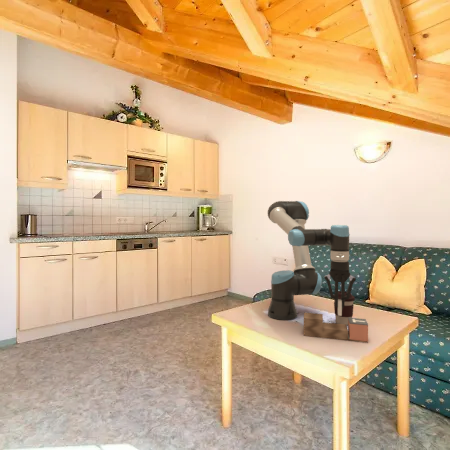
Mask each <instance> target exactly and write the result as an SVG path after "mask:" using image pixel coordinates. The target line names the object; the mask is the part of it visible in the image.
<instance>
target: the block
mask: <svg viewBox="0 0 450 450" xmlns="http://www.w3.org/2000/svg"><path fill="white" fill-rule="evenodd" d="M347 329H348V335H349V339H351V340H360V341H368V342H369V323H368V322H367V320H366V318H359V317H358V318H357V317H352V318H348V325H347Z"/></svg>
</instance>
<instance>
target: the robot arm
mask: <svg viewBox="0 0 450 450" xmlns="http://www.w3.org/2000/svg"><path fill="white" fill-rule="evenodd" d="M267 216H268V219H269V221H270V222H272V223H273V224H276V225H277V226H278V227H279V228H280V229H282V231H283V232H284V233H286V234H287V239H288V243H289V244H290V246H291V247H292V252H293V253H292V254H293V259H294V264H295V265H294V266H295V268H294V269H293V270H288V269H287V270H278V271H275V272H273V273H272V274H271V280H270V283H271V285H270V287H271V292H270V293H271V294H270V295H271V301H270V304H269V307H268V311H267V314H268V315H267V316H268V317H270V318H272V319H273V320H274V319H275V320H279V321H280V320H283V321H289V320H290V321H291V320H295V319H297V318H298V310H297V307H296V304H295V299H294V296H305V295H306V296H307V295H309V296H311V295H316V294H318V293H319V292H320V290H321V289H322V286H323V285H322V283H323V279H322V275H321V274H320V272H317V271H316V267H314V266H313V265H312V260H311V256H310V250H309V249H310V248H309V247H310V246H311V247H312V246H329V247H330V271H329V273H328V274H327V275H324V279H325V281H326V283H327V287H328V292H329V295H330V298H331V299H333V300H334V299H335V307H338V316H342V308H344V307H345V300H347V299H349V297H350V293H351V294H352V289H353V285H354V283H355V282H356V277H355V276H353V275H351V273H350V261H349V260H350V235H351V234H350V227H349V226H348V225H347V224H346V225H345V224H342V225H341V224H336V225H335V224H334V225H333V224H332V225H331V226H330V229H329V228H321V229H320V228H316V229H315V228H309V229H308V228H307V229H306V228H305V225H306V224H307V221H308V219H309V217H310V210H309V206H308V205H307V204H306V203H305V202H303V201H299V200H294V201H293V200H291V201H290V200H289V201H288V200H285V201H284V200H278V201H275V202H273V203H272V204H271V205H270V206H269V207H268V209H267ZM331 278H332V280H333V282H334V293H333V288H332V285H331V281H330V280H331ZM348 279H349V281H348V286H347V289H346V290H345V287H346V286H345V285H346V282H347V280H348ZM339 283H340V285H341V286H340V289H341V290H340V291H341V299H338V291H339ZM345 292H347V293H346V296H345ZM334 294H335V295H334Z"/></svg>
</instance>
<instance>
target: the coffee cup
mask: <svg viewBox="0 0 450 450" xmlns="http://www.w3.org/2000/svg"><path fill="white" fill-rule="evenodd" d="M346 293H347V291H345V296H346ZM333 295H335V293H333ZM338 299H341V290H338ZM333 300H334V302H333V308H334V316H335V322H336V324H346V325H347V326H348V318H353V315H354V301H355V300H356V296H354V295H353V294H352V292H351V293H350V297H349V299H347V300H345V307H344V308H342V316H338V307H335V299H333Z"/></svg>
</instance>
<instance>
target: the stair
mask: <svg viewBox="0 0 450 450" xmlns="http://www.w3.org/2000/svg"><path fill="white" fill-rule="evenodd" d="M303 336H304V337H312V338H322V339H329V340H330V339H331V340H338V341H339V340H340V341H349V342H356V343H367V344H368V342H369V340H368V341H360V340H351V339H349V335H348V325H346V324H337V323H333V322H324V314H322V313H312V312H304V313H303Z"/></svg>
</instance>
